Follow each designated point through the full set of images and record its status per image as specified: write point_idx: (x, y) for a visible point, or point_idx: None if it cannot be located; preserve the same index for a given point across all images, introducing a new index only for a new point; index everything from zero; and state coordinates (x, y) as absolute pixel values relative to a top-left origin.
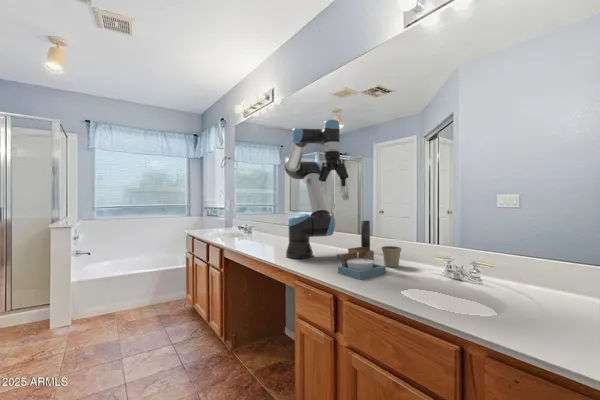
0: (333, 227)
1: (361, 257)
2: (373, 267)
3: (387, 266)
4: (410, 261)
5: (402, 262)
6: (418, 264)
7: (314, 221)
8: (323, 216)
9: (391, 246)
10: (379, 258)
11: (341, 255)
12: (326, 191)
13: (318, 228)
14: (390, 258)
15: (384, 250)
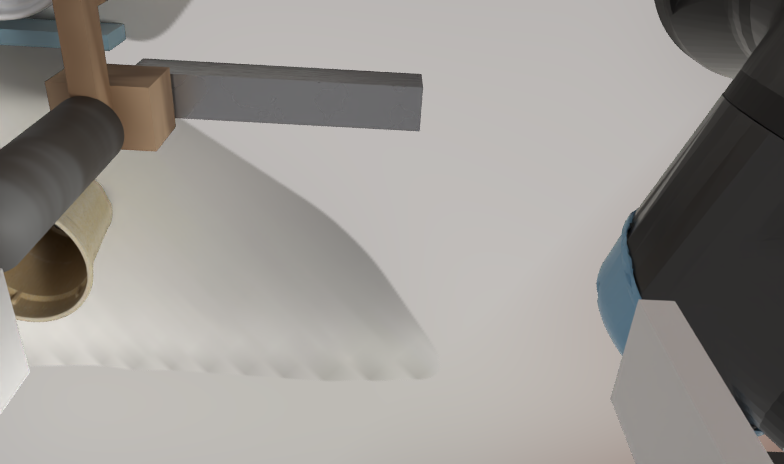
0: (599, 290)
1: (131, 70)
2: (3, 22)
3: None
4: (104, 354)
5: (108, 310)
6: (24, 326)
7: (780, 153)
8: (750, 306)
9: (69, 308)
10: (269, 306)
11: (366, 86)
12: (630, 430)
13: (696, 147)
14: None
15: None
